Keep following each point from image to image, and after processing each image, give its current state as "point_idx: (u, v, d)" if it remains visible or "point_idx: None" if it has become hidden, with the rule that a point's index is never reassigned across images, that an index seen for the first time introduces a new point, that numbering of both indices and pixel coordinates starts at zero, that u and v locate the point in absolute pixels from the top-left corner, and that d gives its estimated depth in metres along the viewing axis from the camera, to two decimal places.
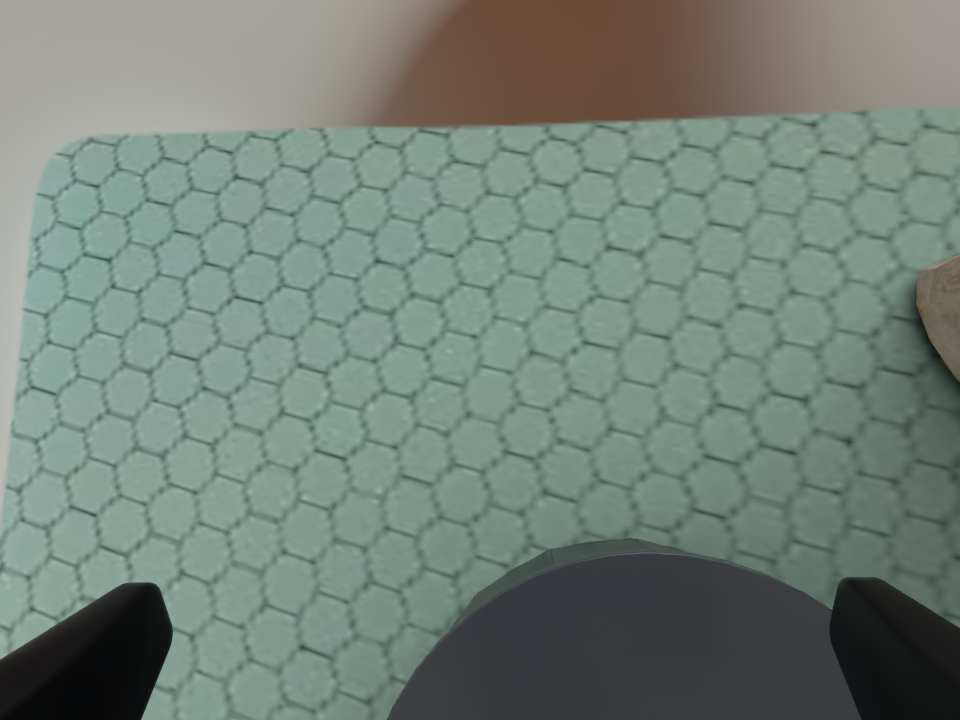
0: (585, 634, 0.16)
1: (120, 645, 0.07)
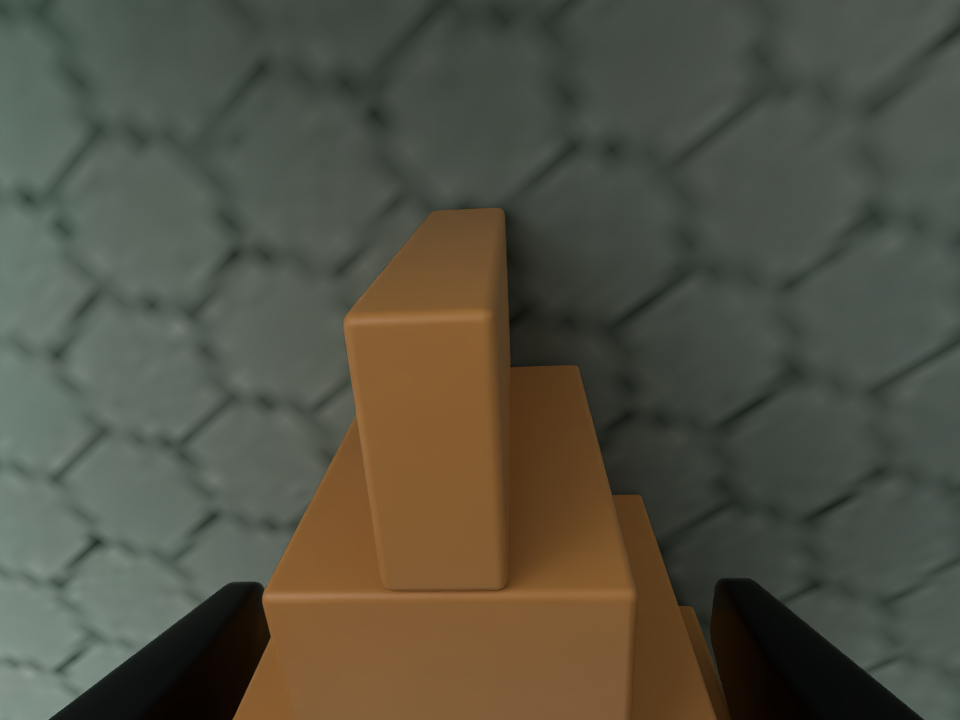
0: None
1: (236, 645, 0.07)
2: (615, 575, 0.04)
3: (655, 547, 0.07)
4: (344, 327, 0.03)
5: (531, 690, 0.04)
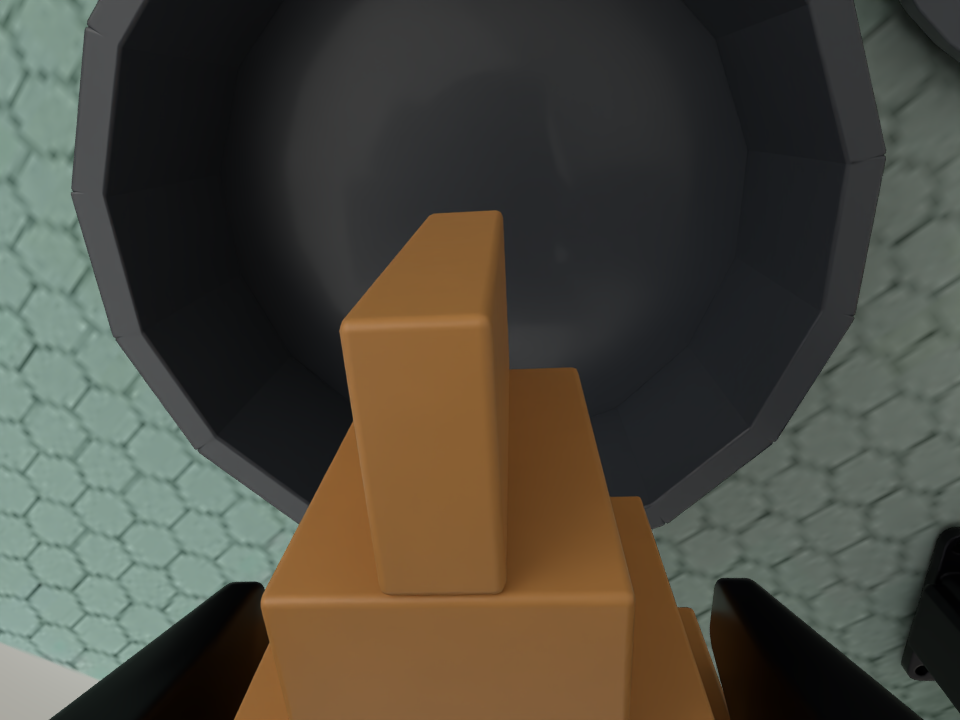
0: None
1: (236, 645, 0.07)
2: (613, 579, 0.04)
3: (654, 549, 0.07)
4: (341, 333, 0.03)
5: (528, 693, 0.04)
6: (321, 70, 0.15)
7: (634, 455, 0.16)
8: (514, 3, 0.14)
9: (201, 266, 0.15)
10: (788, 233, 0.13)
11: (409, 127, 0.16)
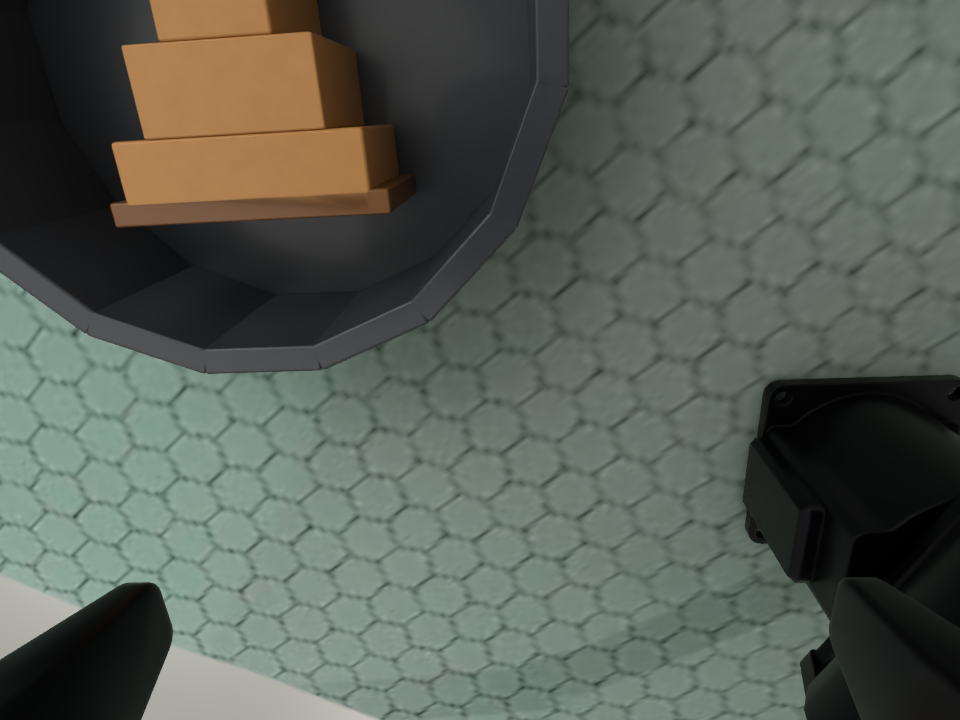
0: None
1: (120, 645, 0.07)
2: None
3: (343, 45, 0.16)
4: None
5: None
6: None
7: (423, 277, 0.16)
8: None
9: None
10: (531, 29, 0.14)
11: None
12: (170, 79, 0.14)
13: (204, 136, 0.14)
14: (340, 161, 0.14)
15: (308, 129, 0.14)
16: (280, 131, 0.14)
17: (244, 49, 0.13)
